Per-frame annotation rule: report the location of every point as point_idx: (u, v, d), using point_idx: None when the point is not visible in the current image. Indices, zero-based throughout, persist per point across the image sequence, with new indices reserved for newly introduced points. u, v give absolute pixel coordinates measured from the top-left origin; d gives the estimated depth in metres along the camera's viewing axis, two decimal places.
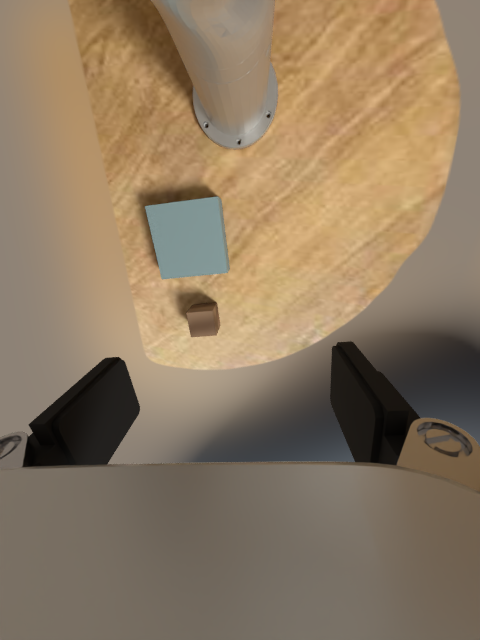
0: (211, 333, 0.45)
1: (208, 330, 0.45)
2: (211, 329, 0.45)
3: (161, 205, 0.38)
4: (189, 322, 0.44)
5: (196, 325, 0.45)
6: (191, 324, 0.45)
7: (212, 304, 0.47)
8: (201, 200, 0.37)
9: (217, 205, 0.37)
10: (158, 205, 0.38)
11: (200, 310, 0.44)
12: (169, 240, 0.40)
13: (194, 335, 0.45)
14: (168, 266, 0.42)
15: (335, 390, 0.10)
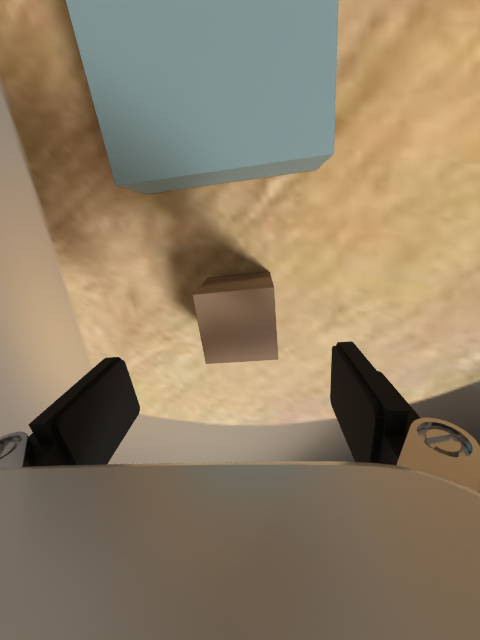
0: (265, 353, 0.16)
1: (257, 346, 0.16)
2: (265, 343, 0.15)
3: None
4: (202, 323, 0.15)
5: (221, 333, 0.15)
6: (207, 329, 0.15)
7: (260, 274, 0.18)
8: None
9: None
10: None
11: (234, 287, 0.15)
12: (133, 18, 0.11)
13: (215, 359, 0.16)
14: (135, 136, 0.12)
15: (335, 390, 0.10)
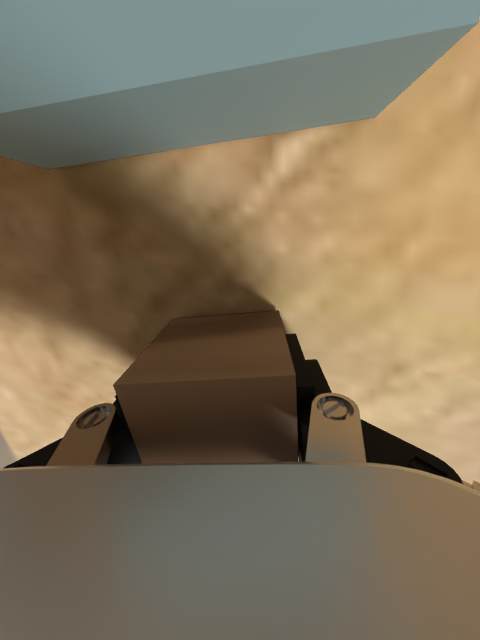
0: None
1: None
2: None
3: None
4: (140, 436, 0.07)
5: (182, 455, 0.07)
6: (153, 446, 0.07)
7: (262, 317, 0.10)
8: None
9: None
10: None
11: (208, 364, 0.07)
12: None
13: None
14: None
15: None
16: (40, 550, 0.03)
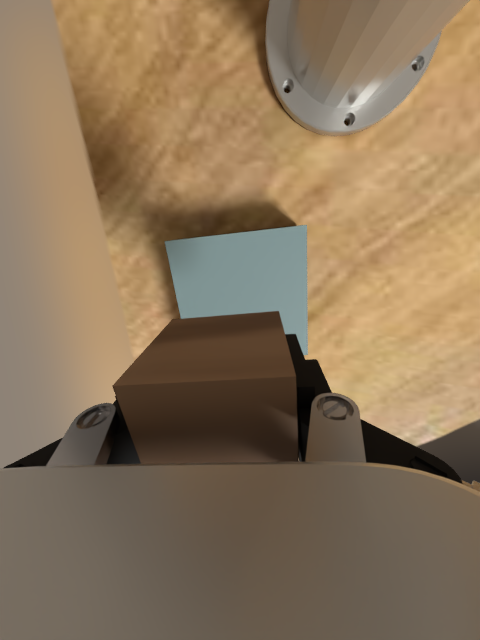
0: None
1: None
2: None
3: (196, 240, 0.20)
4: (139, 438, 0.07)
5: (181, 456, 0.07)
6: (152, 448, 0.07)
7: (262, 318, 0.10)
8: (274, 232, 0.19)
9: (304, 241, 0.20)
10: (190, 240, 0.20)
11: (208, 365, 0.07)
12: (208, 301, 0.22)
13: None
14: None
15: None
16: (40, 550, 0.03)
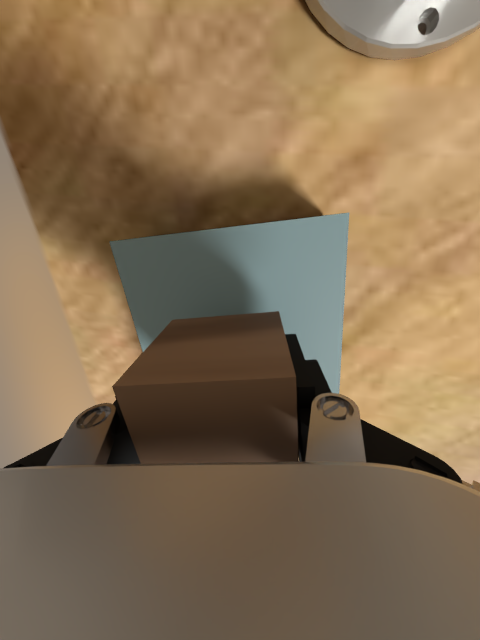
0: None
1: None
2: None
3: (161, 240, 0.12)
4: (139, 438, 0.07)
5: (181, 456, 0.07)
6: (152, 448, 0.07)
7: (262, 318, 0.10)
8: (292, 225, 0.11)
9: (343, 241, 0.11)
10: (151, 240, 0.12)
11: (208, 365, 0.07)
12: None
13: None
14: None
15: None
16: (40, 550, 0.03)
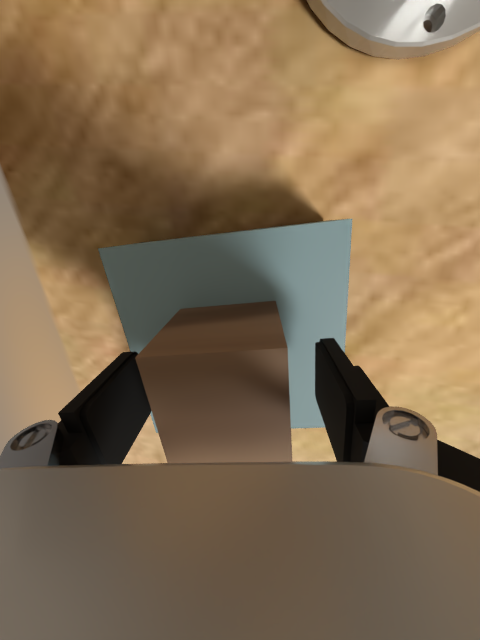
0: (269, 453, 0.09)
1: (256, 441, 0.09)
2: (270, 437, 0.09)
3: (152, 247, 0.11)
4: (156, 404, 0.08)
5: (191, 420, 0.09)
6: (167, 413, 0.09)
7: (260, 306, 0.11)
8: (291, 231, 0.11)
9: (345, 248, 0.11)
10: (142, 247, 0.11)
11: (214, 341, 0.08)
12: None
13: (183, 458, 0.09)
14: None
15: (318, 384, 0.10)
16: (40, 550, 0.03)
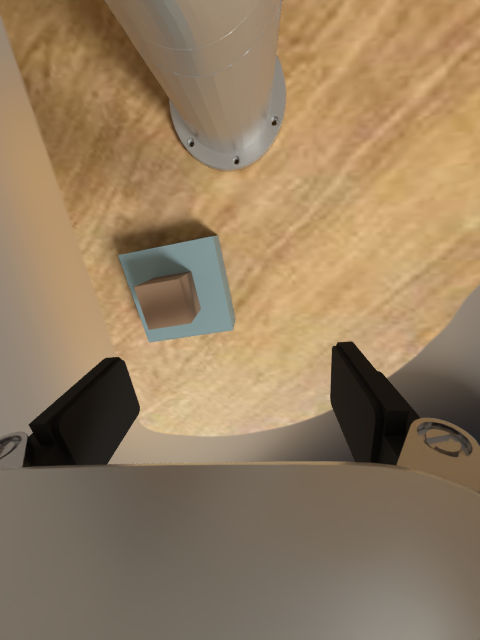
0: (182, 320, 0.26)
1: (177, 315, 0.26)
2: (181, 313, 0.26)
3: (139, 252, 0.29)
4: (141, 303, 0.25)
5: (154, 309, 0.26)
6: (145, 307, 0.26)
7: (183, 273, 0.28)
8: (191, 242, 0.28)
9: (213, 247, 0.28)
10: (135, 253, 0.29)
11: (159, 281, 0.25)
12: None
13: (153, 326, 0.26)
14: None
15: (335, 390, 0.10)
16: (39, 550, 0.03)
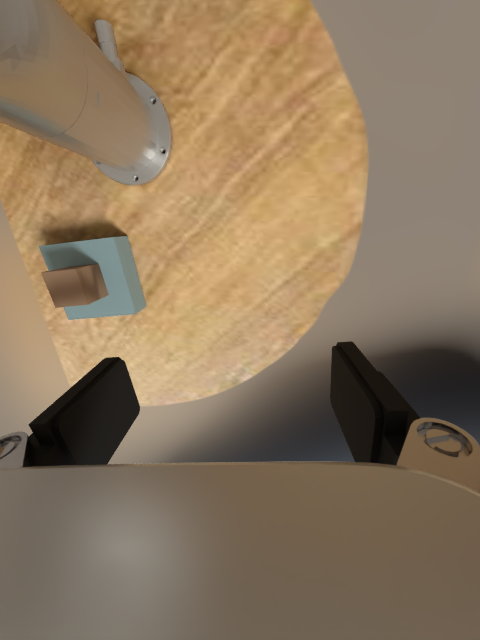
0: (81, 301, 0.33)
1: (76, 297, 0.33)
2: (79, 296, 0.33)
3: (56, 245, 0.35)
4: (48, 286, 0.32)
5: (58, 291, 0.33)
6: (51, 289, 0.33)
7: (90, 264, 0.35)
8: (97, 240, 0.35)
9: (114, 246, 0.35)
10: (53, 245, 0.35)
11: (62, 269, 0.32)
12: None
13: (59, 305, 0.33)
14: (73, 307, 0.39)
15: (335, 390, 0.10)
16: (40, 550, 0.03)
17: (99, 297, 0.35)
